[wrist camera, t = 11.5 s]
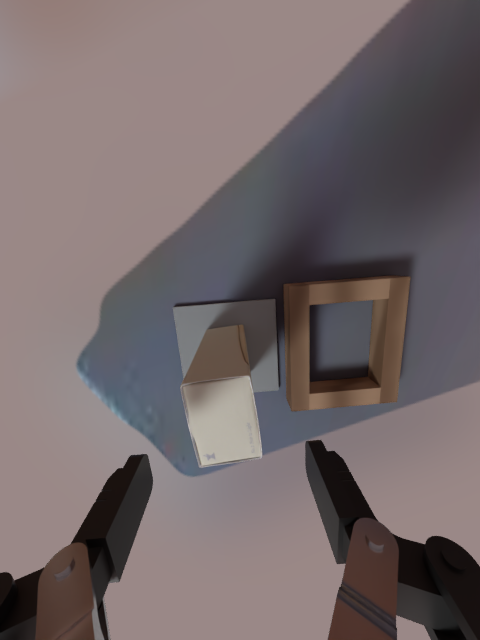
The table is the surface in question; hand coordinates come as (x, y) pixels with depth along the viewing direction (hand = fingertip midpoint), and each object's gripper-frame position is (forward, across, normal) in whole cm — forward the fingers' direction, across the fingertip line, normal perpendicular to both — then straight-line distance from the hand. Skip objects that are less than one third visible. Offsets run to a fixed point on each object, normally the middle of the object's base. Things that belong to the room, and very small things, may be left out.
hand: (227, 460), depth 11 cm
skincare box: (+15, 0, 0) cm, 15 cm away
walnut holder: (+15, -12, 0) cm, 20 cm away
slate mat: (+15, 0, 0) cm, 15 cm away
